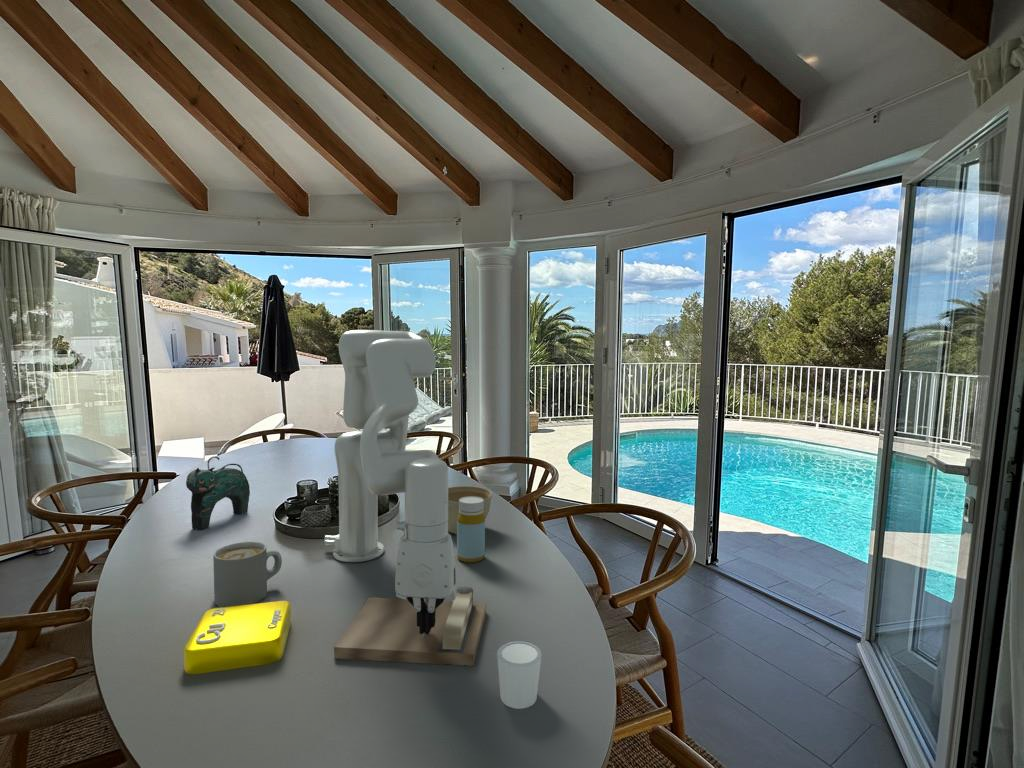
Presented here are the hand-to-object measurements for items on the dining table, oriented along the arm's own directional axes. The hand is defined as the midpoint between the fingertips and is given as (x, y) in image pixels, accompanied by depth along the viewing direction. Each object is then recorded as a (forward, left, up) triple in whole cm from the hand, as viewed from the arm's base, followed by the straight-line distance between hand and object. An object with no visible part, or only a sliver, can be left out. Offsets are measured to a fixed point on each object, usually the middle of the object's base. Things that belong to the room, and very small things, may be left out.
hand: (426, 629), depth 95 cm
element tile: (-33, -2, -4) cm, 33 cm away
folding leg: (+5, +4, -1) cm, 7 cm away
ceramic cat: (-77, +60, -3) cm, 97 cm away
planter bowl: (-3, +60, -3) cm, 60 cm away
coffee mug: (-42, +16, -3) cm, 45 cm away
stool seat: (-3, +4, -3) cm, 6 cm away
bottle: (+2, +40, -3) cm, 40 cm away
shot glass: (+17, -12, -3) cm, 21 cm away
